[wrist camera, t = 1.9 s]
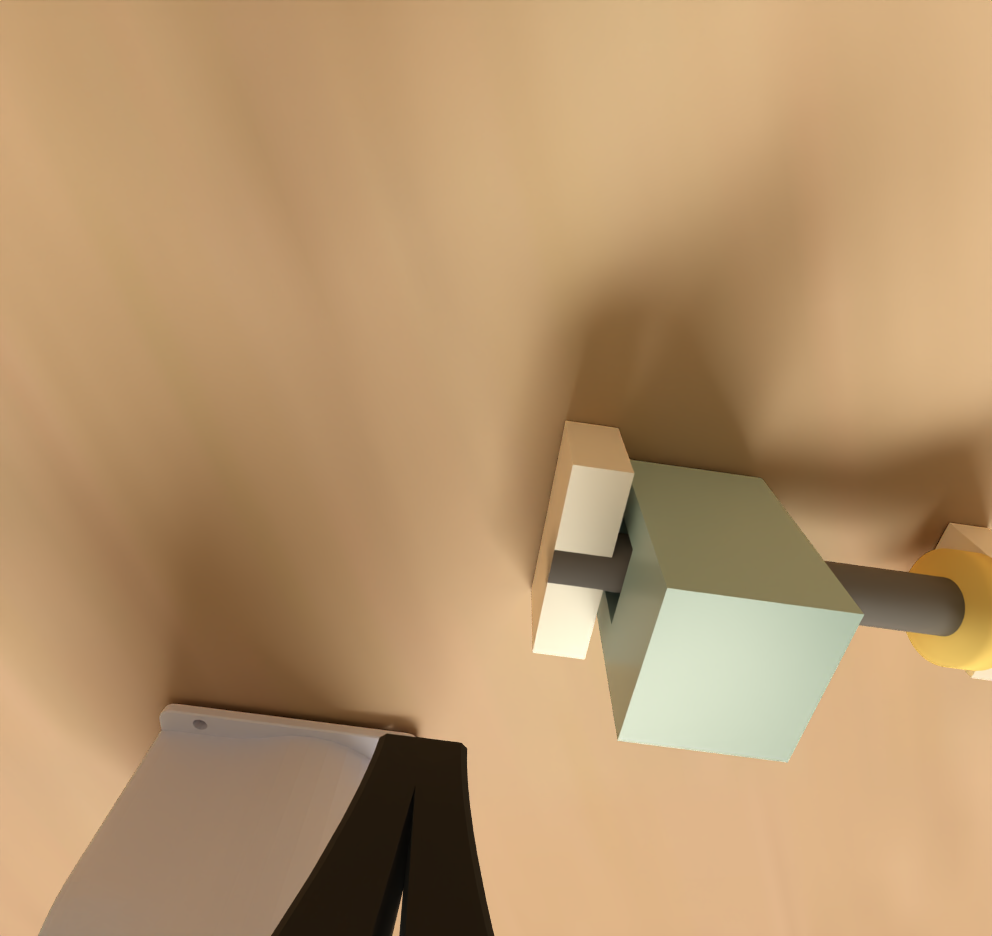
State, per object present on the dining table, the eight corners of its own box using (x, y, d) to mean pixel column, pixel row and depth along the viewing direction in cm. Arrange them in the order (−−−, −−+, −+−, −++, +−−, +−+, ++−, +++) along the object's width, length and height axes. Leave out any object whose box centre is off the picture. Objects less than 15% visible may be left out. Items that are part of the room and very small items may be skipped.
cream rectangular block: (531, 590, 20) (532, 652, 18) (565, 420, 17) (572, 464, 15) (576, 596, 20) (584, 659, 18) (618, 427, 17) (634, 473, 15)
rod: (538, 566, 19) (541, 639, 16) (557, 474, 17) (564, 536, 15) (952, 622, 19) (1028, 703, 16) (1004, 536, 18) (1096, 609, 15)
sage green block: (591, 583, 19) (617, 740, 14) (623, 458, 18) (667, 587, 12) (716, 599, 20) (787, 762, 14) (761, 477, 18) (864, 614, 12)
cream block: (905, 602, 20) (970, 677, 17) (949, 522, 18) (1028, 590, 15) (942, 607, 20) (1014, 683, 17) (988, 528, 18) (1074, 596, 15)
